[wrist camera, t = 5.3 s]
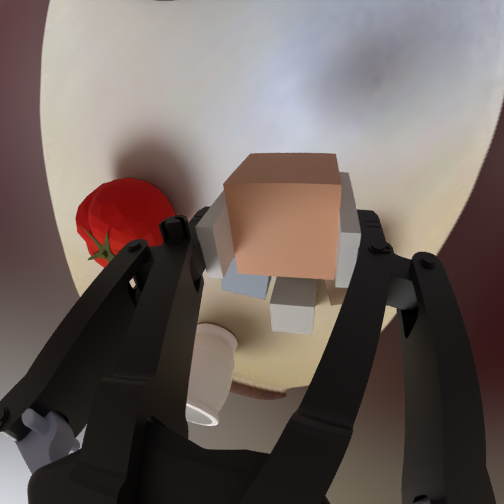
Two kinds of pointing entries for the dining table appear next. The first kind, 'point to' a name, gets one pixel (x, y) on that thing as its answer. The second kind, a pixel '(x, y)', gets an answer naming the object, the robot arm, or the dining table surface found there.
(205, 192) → the dining table surface
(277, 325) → the grey cube
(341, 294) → the walnut cube
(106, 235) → the tomato
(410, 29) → the dining table surface
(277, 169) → the terracotta cube
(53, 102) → the dining table surface
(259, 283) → the slate cube
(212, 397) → the jar
